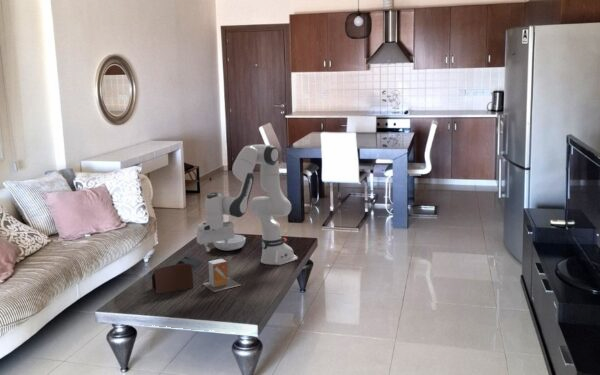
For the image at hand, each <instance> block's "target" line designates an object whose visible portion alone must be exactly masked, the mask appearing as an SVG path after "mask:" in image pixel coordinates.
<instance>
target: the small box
mask: <svg viewBox="0 0 600 375" xmlns="http://www.w3.org/2000/svg"><path fill="white" fill-rule="evenodd" d="M208 275H209V276H208V279H209V280H208V281H209V283H210V285H211V286H213V287H218V286H223V285H228V279H227V278H228V262H227V261H226V260H225V259H224V258H218V259H214V260H210V261H208Z"/></svg>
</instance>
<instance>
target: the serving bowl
mask: <svg viewBox="0 0 600 375" xmlns="http://www.w3.org/2000/svg"><path fill="white" fill-rule="evenodd" d="M246 238H247V237H245V236H244V235H241V234H235V233H234V238H232V239H228V243H227V247H226V248H223V244H224V242H225V241H224V240H222V241H217V242H212V243H213V246H214V247H215V248H217V249H219V250H221V251H228V252H230V251H231V252H232V251H235V250H239V249H240V248H242V247H243V246H244V245H245V243H246Z"/></svg>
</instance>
